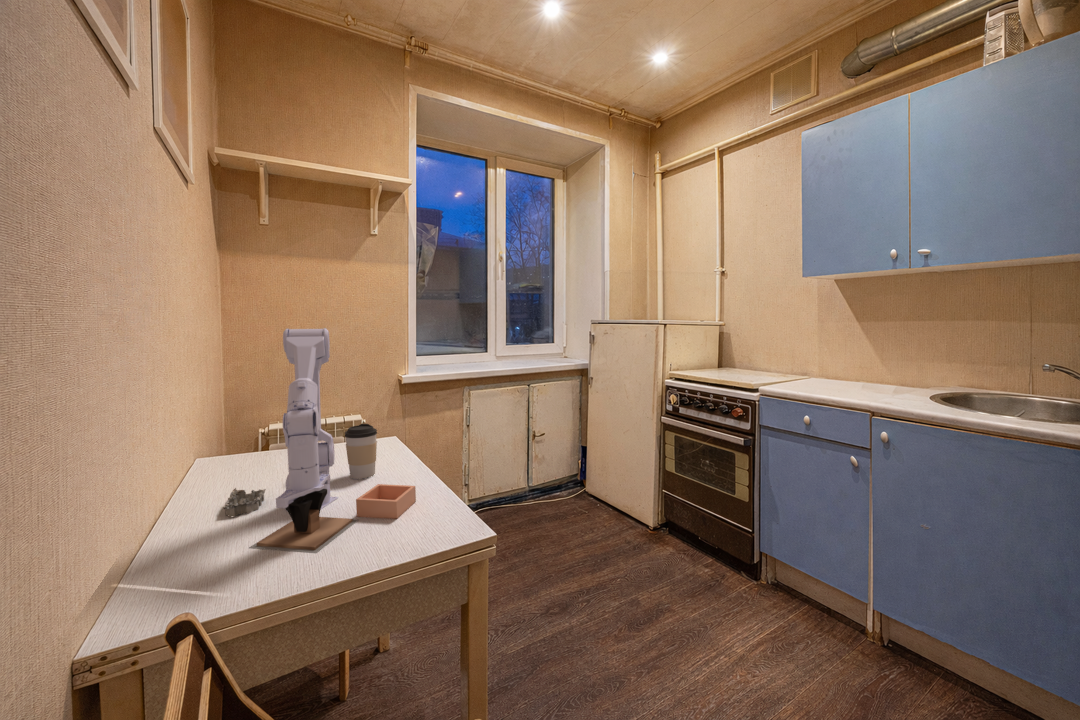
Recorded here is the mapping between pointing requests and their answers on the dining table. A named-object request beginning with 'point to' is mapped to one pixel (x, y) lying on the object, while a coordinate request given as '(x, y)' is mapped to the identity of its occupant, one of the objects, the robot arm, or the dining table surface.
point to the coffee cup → (361, 450)
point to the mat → (305, 549)
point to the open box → (386, 501)
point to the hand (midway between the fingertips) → (307, 527)
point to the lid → (306, 533)
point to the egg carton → (243, 502)
